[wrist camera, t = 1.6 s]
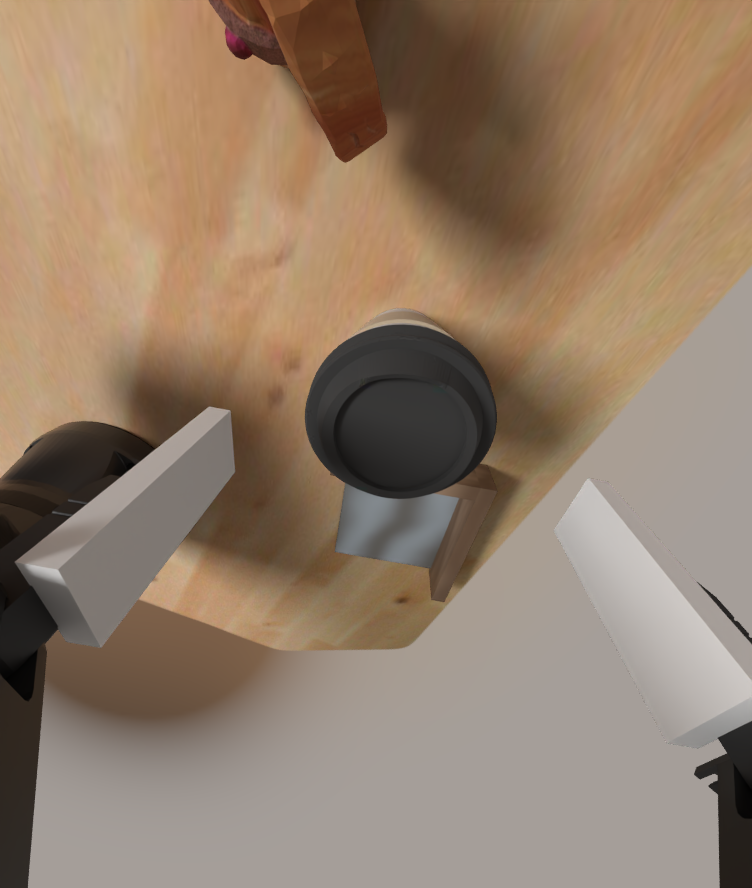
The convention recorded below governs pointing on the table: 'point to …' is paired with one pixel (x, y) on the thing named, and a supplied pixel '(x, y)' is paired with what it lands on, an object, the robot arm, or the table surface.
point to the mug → (315, 61)
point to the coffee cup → (400, 408)
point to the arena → (418, 527)
